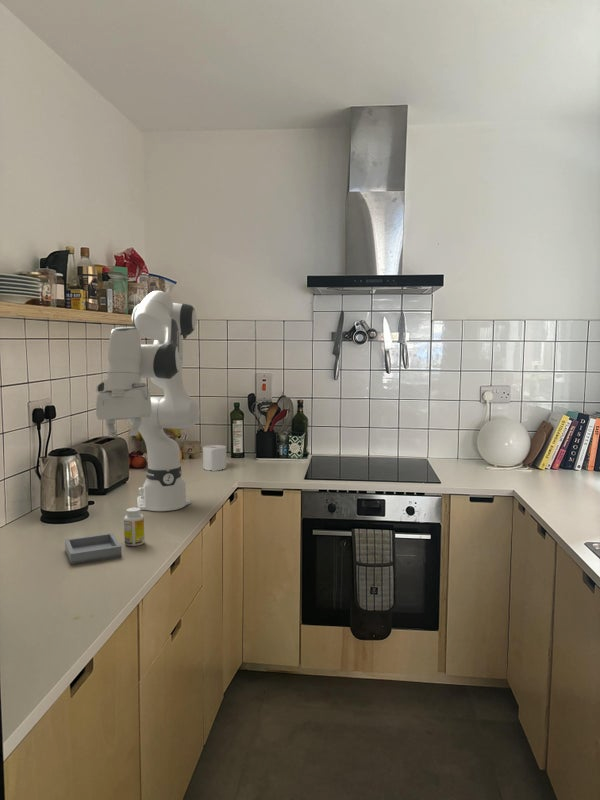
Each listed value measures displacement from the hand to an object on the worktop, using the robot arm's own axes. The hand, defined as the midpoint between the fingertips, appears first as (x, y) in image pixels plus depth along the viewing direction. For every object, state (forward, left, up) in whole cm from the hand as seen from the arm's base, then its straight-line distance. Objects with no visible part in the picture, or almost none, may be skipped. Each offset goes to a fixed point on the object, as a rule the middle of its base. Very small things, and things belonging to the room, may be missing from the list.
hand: (122, 436), depth 163 cm
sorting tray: (-5, -8, -33) cm, 34 cm away
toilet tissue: (-95, +59, -33) cm, 117 cm away
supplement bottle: (-8, +4, -33) cm, 35 cm away
